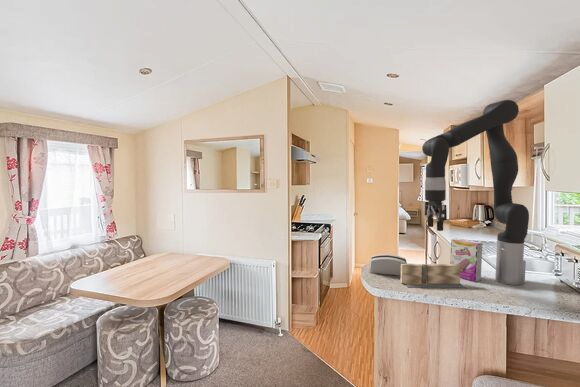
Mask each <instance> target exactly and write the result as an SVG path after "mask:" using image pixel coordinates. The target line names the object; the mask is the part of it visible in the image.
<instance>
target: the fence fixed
mask: <svg viewBox="0 0 580 387" xmlns="http://www.w3.org/2000/svg"><path fill="white" fill-rule="evenodd" d="M426 281H427V264H425V263H422V264H421V263H407V264H401V280H400V283H401V284H404V283H422V284H426Z"/></svg>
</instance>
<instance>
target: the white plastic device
mask: <svg viewBox="0 0 580 387" xmlns="http://www.w3.org/2000/svg"><path fill="white" fill-rule="evenodd" d="M401 264H408V263H407V259H406V258H405V257H403V256H400V255H396V254H389V253H383V254H376V255H372V256H371V257H370V264H369V265H370V267H369V273H370V274H380V275H381V274H382V275H392V276H393V275H394V276H397V275H401Z"/></svg>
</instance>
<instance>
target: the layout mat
mask: <svg viewBox="0 0 580 387" xmlns="http://www.w3.org/2000/svg"><path fill="white" fill-rule="evenodd" d="M396 277H398V279H399V280H400V281H401V275H396ZM403 284H404V285H405V286H406V287H407V288H426V289H427V288H430V289H431V288H432V289H434V288H435V289H436V288H439V289H440V288H441V289H443V288H444V289H447V288H448V289H449V288H450V289H466V288H467V287H466V286H465V285H464V284H462V283H461V282H460V284H431V283H427V282H426V284H422V283H403Z"/></svg>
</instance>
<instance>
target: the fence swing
mask: <svg viewBox="0 0 580 387" xmlns="http://www.w3.org/2000/svg"><path fill="white" fill-rule="evenodd" d="M426 265H427V281H426V282H427V283H431V284H460V283H461V278H460V268H461V266H460V265H459V264H450V263H436V264H435V263H427V264H426Z"/></svg>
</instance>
